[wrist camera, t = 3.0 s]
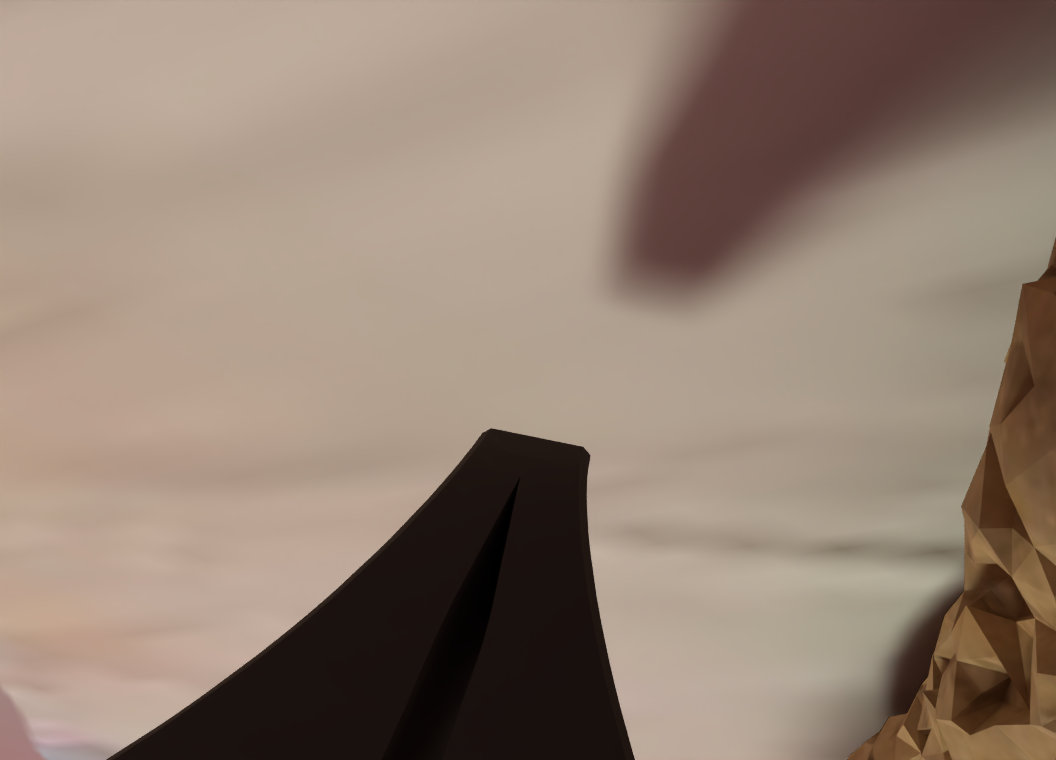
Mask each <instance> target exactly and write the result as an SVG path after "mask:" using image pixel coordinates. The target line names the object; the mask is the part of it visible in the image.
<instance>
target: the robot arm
mask: <svg viewBox="0 0 1056 760" xmlns="http://www.w3.org/2000/svg"><path fill="white" fill-rule="evenodd" d="M589 461H590V455H589V453H588V452H587V451H586V450H585V448H584V447H581V446H576V445H571V444H566V443H561V442H556V441H551V440H546V439H541V438H536V437H532V436H527V435H522V434H517V433H512V432H507V431H502V430H497V429H492V428H491V429H489V430H487V431H486V432H484V433H482V434H481V436H480V437H479V438H478V440H477V441H476V443H475V444H474V445H473V446H472V448H471V449H470V450H469V452H468V453H467V454H466V455H465V457H464V458H463V459H462V460H461V462H460V463H459V464H458V465H457V466H456V468H455V469H454V470H453V471H452V472H451V474H450V475H449V476H448V477H447V478H446V479H445V480H444V482H443V483H442V484H441V485H440V486H439V487H438V488H437V489H436V491H435V492H434V493H433V494H432V495H431V496H430V497H429V499H428V500H427V501H426V502H425V503H424V504H423V505H422V506H421V507H420V508H419V509H418V510H417V511H416V512H415V513H414V514H413V515H412V516H411V517H410V518H409V520H408V521H407V522H406V523H405V524H404V525H403V526H402V527H401V528H400V529H399V530H398V531H397V532H396V533H395V534H394V535H393V536H392V537H391V538H390V539H389V540H388V541H387V542H386V543H385V544H384V545H383V546H382V547H381V548H380V549H379V550H378V551H377V552H376V553H375V554H374V555H373V556H372V557H371V558H370V559H368V560H367V561H366V562H365V563H364V564H363V565H362V566H361V567H360V568H359V569H358V570H357V571H356V572H355V573H353V574H352V575H351V576H350V577H349V578H348V579H347V580H346V581H345V582H344V583H343V584H342V585H341V586H340V587H339V588H337V589H336V590H335V591H334V592H333V593H332V594H331V595H330V596H329V597H327V598H326V599H325V600H324V601H323V602H322V603H320V604H319V605H318V606H317V607H316V608H315V609H313V610H312V611H311V612H310V613H309V614H308V615H306V616H305V617H304V618H303V619H302V620H300V621H299V622H298V623H297V624H296V625H294V626H293V627H292V628H291V629H289V630H288V631H287V632H286V633H284V634H283V635H282V636H281V637H280V638H278V639H277V640H276V641H275V642H273V643H272V644H271V645H270V646H268V647H267V648H266V649H265V650H263V651H262V652H261V653H259V654H258V655H257V656H256V657H254V658H253V659H251V660H250V661H249V662H247V663H246V664H245V665H243V666H242V667H241V668H239V669H238V670H237V671H235V672H234V673H233V674H231V675H230V676H229V677H227V678H226V679H224V680H223V681H222V682H220V683H219V684H218V685H216V686H215V687H214V688H212V689H211V690H210V691H208V692H207V693H206V694H204V695H203V696H201V697H200V698H199V699H197V700H196V701H194V702H193V703H191V704H190V705H189V706H187V707H186V708H184V709H183V710H181V711H180V712H179V713H177V714H176V715H174V716H173V717H171V718H170V719H168V720H167V721H165V722H164V723H163V724H161V725H160V726H158V727H156V728H155V729H153V730H152V731H150V732H149V733H147V734H146V735H144V736H142V737H141V738H139V739H138V740H136V741H135V742H133V743H131V744H130V745H128V746H127V747H125V748H124V749H122V750H121V751H119V752H117V753H116V754H114V755H113V756H111V757H110V758H108V759H107V760H635V758H634V755H633V752H632V748H631V745H630V741H629V737H628V734H627V730H626V726H625V723H624V719H623V716H622V712H621V708H620V704H619V700H618V696H617V692H616V688H615V684H614V680H613V676H612V671H611V667H610V663H609V658H608V653H607V648H606V644H605V639H604V634H603V629H602V625H601V619H600V613H599V608H598V602H597V596H596V589H595V582H594V575H593V568H592V561H591V554H590V545H589V535H588V519H587V475H588V467H589Z"/></svg>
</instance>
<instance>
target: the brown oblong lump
mask: <svg viewBox="0 0 1056 760" xmlns="http://www.w3.org/2000/svg"><path fill="white" fill-rule="evenodd" d="M1004 361H1005V363H1006V366H1005V370H1004V373H1003V377H1002V381H1001V385H1000V389H999V392H998V396H997V400H996V404H995V408H994V411H993V415H992V419H991V423H990V430H989V436H988V441H987V446H986V449H985V451H984V453H983V456H982V458H981V460H980V463H979V465H978V468H977V470H976V472H975V475H974V477H973V480H972V482H971V484H970V487H969V489H968V491H967V494H966V496H965V499H964V501H963V503H962V506H961V507H962V511H963V516H964V520H965V582H964V592H963V593H962V594H961V596H960V597H959V598H958V599H957V601H956V602H955V603H954V604H953V606H952V607H951V608H950V609H949V611H948V612H947V613H946V615H945V616H944V620H943V623H942V627H941V630H940V634H939V637H938V641H937V644H936V648H935V651H934V652H933V654H932V660H931V665H930V670H929V675H928V678H927V679H926V680H925V681H924V682H923V683H922V685H921V687H920V689H919V691H918V693H917V695H916V697H915V699H914V701H913V703H912V705H911V707H910V709H909V711H908V713H907V714H902V715H897V716H892V717H889V718H888V719H887V721H886V723H885V724H884V726H883V727H882V729H881V730H880V732H878V733H877V734H876V735H874V736H873V737H872V738H870V739H869V740H868V741H866V742H865V743H864V744H863V745H862V746H861V747H860V748H858V749H857V750H856V751H855V752H853V753H852V754H851V755H850V756H849V757H848V759H847V760H1056V239H1055V242H1054V246H1053V250H1052V254H1051V257H1050V261H1049V265H1048V268H1047V271H1046V272H1045V273H1044V274H1043V275H1042V276H1041V278H1040V279H1039V280H1038V281H1035V282H1030V283H1025V284H1023V285H1022V290H1021V295H1020V301H1019V306H1018V311H1017V317H1016V322H1015V327H1014V333H1013V338H1012V343H1011V345H1010V348H1009V350H1008V353H1007V355H1006V358H1005V360H1004Z"/></svg>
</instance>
